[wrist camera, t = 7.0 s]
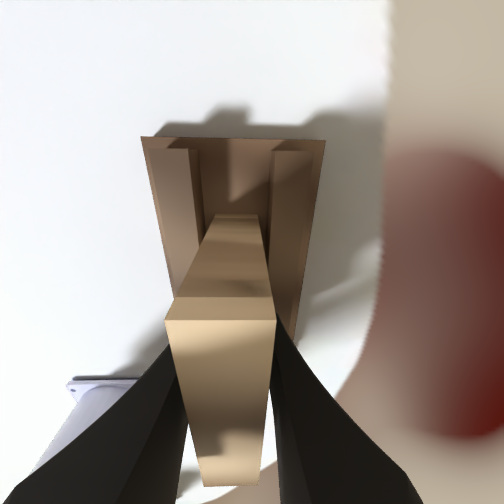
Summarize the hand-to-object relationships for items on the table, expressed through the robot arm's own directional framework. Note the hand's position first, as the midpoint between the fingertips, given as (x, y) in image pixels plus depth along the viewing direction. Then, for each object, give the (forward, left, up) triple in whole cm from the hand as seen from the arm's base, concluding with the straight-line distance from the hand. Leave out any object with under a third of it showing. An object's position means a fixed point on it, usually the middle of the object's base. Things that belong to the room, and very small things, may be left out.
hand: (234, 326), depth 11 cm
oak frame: (0, 0, -3) cm, 3 cm away
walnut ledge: (0, 0, -5) cm, 5 cm away
